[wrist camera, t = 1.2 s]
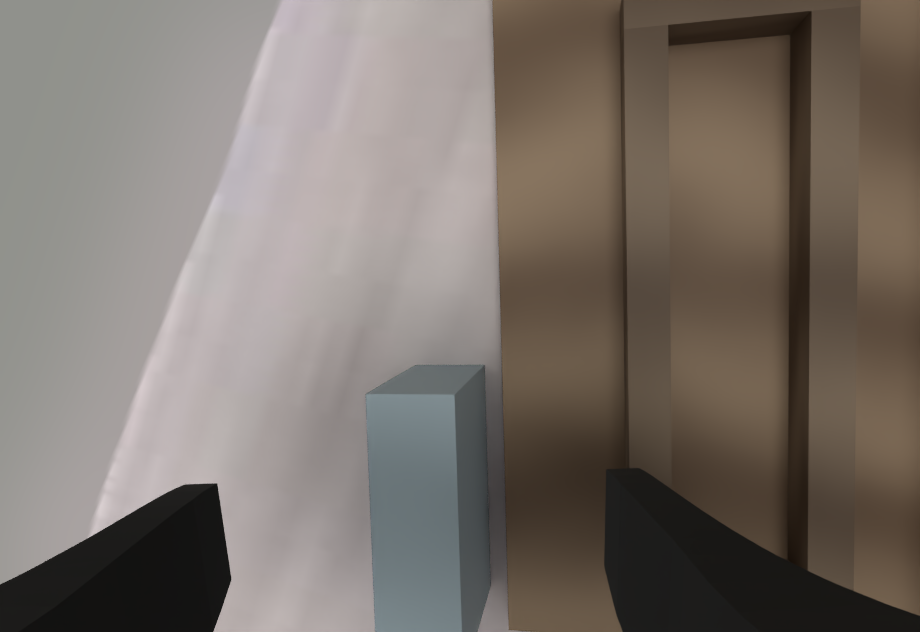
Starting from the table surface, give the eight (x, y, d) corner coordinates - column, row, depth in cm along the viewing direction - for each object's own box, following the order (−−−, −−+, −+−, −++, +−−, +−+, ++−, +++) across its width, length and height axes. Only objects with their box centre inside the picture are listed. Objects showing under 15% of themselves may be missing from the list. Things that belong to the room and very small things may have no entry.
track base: (952, 645, 20) (1070, 765, 15) (511, 614, 23) (493, 708, 18) (969, -76, 19) (1106, -197, 14) (495, -21, 21) (470, -107, 16)
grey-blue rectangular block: (491, 584, 23) (463, 680, 18) (409, 579, 24) (358, 671, 18) (484, 364, 23) (454, 394, 17) (401, 364, 23) (346, 393, 18)
